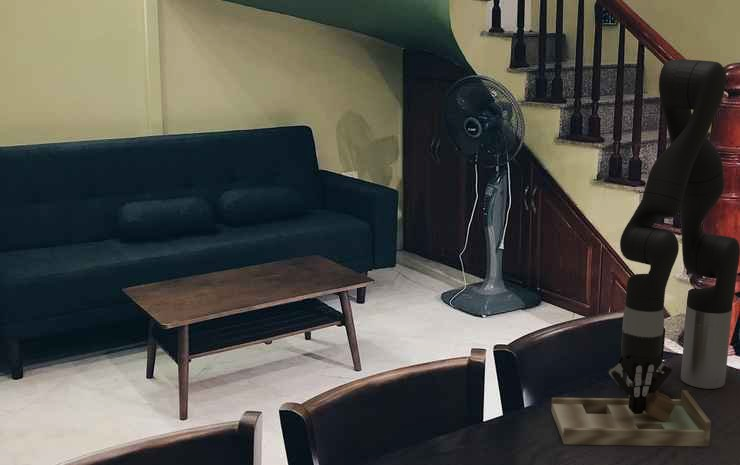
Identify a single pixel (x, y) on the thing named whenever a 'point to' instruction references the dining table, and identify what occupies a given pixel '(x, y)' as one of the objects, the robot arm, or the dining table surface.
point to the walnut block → (659, 406)
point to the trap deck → (629, 423)
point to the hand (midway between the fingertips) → (636, 412)
